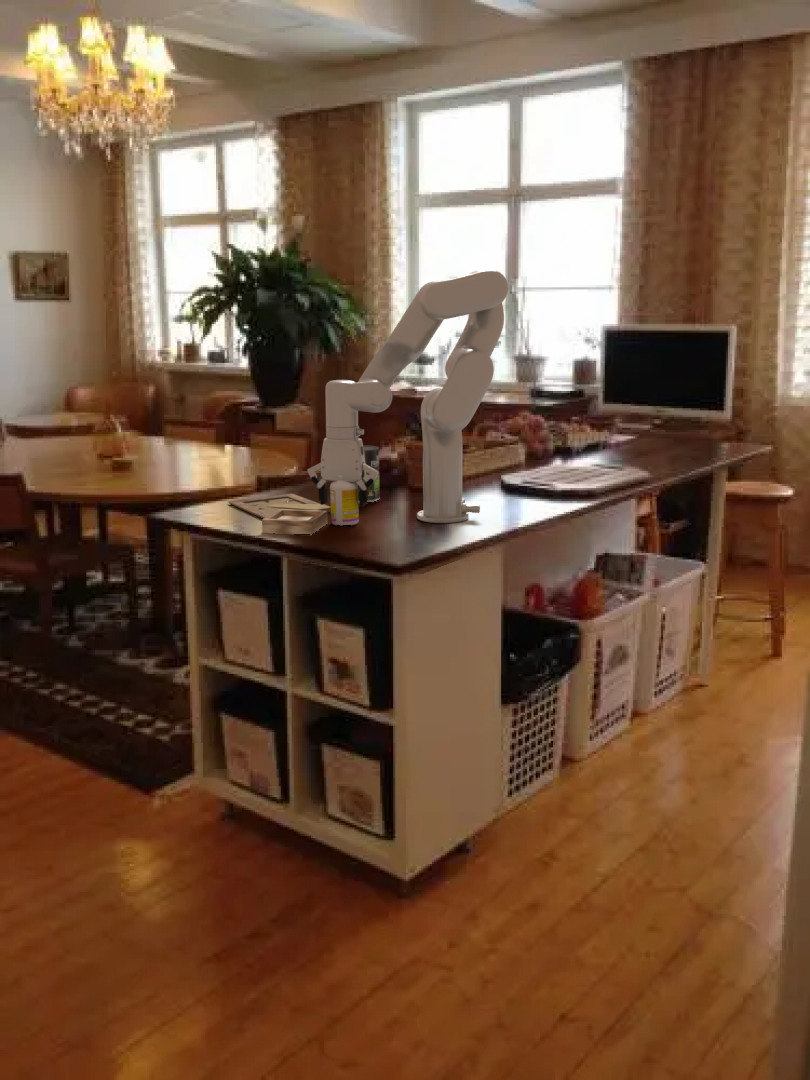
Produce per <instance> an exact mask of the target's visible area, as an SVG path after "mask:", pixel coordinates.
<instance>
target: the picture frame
mask: <svg viewBox="0 0 810 1080" xmlns="http://www.w3.org/2000/svg"><path fill="white" fill-rule="evenodd" d="M227 503H228V505H229V504H230V505H231V506H234V507H236V508H237V509H240V510H242V511H244V512H247V513H249V514H251V515H254V516H255V515H256V517H258V518H260V517H261V518H260V519H262V518H263V519H264V518H265V517H267V516H269V515H271V514H272V513H274V512H276V511H277V510H279V509H298V510H323V511H331V505H330V506H329V505H327V504H324V505H321V503H319V502H316V501H314V500H311V499H308V498H305V497H302V496H300V495H297V494H295V493H286V494H279V495H278V494H277V495H269V496H262V497H261V496H260V497H255V498H254V497H253V498H246V499H236V500H230V501H229V500H228V502H227Z"/></svg>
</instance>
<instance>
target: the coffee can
mask: <svg viewBox="0 0 810 1080" xmlns="http://www.w3.org/2000/svg"><path fill="white" fill-rule="evenodd" d="M363 448H364V456H365V464H366V465H368V466H370V467H372V468H373V469H375V470H377V471H378V472H379V473H378V476H377V477H376V479H375V482H374V483H373V484H372V485H371V486H370V487H369V488H368V501H367V502H372V503H375V502H374V501H376V502H378V501H377V500H379V499H380V500H381V497H380V458H379V457H380V452H379V451H380V447H379V446H376V445H366V444H363ZM370 476H371V475H370V474H369V473H368V472H366V475H365V477H364V479H365V480H366V481H368V480H369V479H370ZM357 485H358V484H357ZM360 490H361V488H360V486H359V485H358V504H359V491H360ZM380 500H379V501H380Z"/></svg>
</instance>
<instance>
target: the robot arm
mask: <svg viewBox="0 0 810 1080" xmlns="http://www.w3.org/2000/svg"><path fill="white" fill-rule="evenodd" d="M508 293H509V283H508V280H507V279H506V277H505V276H504V274H503V273H501V271H498V270H497V269H489V268H488V269H478V270H474V271H472V272H469V274H466V275H463V276H459V277H454V278H450V279H445V280H444V279H443V280H439V281H438V280H436V281H429V282H427V283H425V284H424V285H423V286H422V287H420V288H419V290H418V291H417V293H416V295H415V296H414V298H413V299H412V301H411V302H410V304H409V306H407V308H406V310H405V312H404V313H403V315H402V317H401V318H400V320H399V321H398V322H397V324H396V325H395V327H394V328H393V331H392V332H391V334H390V335H389V336H388V338H386V339H385V341H384V343H383V344H382V346H381V347H380V349H379V350H378V351H377V352H376V353H375V354H374V355H373V356H374V357H373V358H372V359H371V361H370V362H369V364H368V366H367V367H366V368H365V369H364V371H363V373H362V375H360V378H359V380H358V381H357V382H356V381H354V380H349V379H336V380H329V381H328V382H327V383H326V385H325V435H326V437H324V439H323V443H322V449H321V457H320V462H319V463H317V464H315V465H313V466H311V467H310V468H307V473H308V475H309V477H310V479H311V481H312V482H313V484H315V485H316V488H317V489H318V500H319V501H320V504H321V505H326V503H328V487H327V483H328V482H333V481H340V480H342V481H346V482H356V483H357V484H358V485H359V486H360V488H361V490H360V491H359V503H358V507H360V508H362V507H365V506H366V505H367V504H368V503H367V501H368V488H369V487H370V486H371V485H372V484H373V483H374V482H375V479H376V477H377V476H378V473H379V474H380V471H379V472H378V471H377V470H375V469H373V468H372V467H370V466H368V465H366V464H365V456H364V448H363V445H364V443H363V439H362V438H360V436H363V435H364V434H365V429H364V428H363V429H362V428H360V426H359V412H366V413H367V412H368V413H381V412H384V411H386V410H387V409H388V408H390V406H391V404H392V401H393V393H392V390H391V387H392V386H393V384H394V382H395V381H396V379H397V378H398V376H399V375H400V374H401V373H402V372H403V370H404V369H405V368H407V366H409V365H410V364H411V363H413V362H414V361H416V360H417V359H418V358H420V356H421V355H423V353H424V351H425V350H426V348H427V346H428V345H429V343H430V341H431V340H432V338H433V337H434V335H435V334H436V333H437V331H438V329H439V328H440V326H441V325H442V323H443V322H444V320H449V319H454V318H459V317H462V316H463V317H464V316H466V315H468V318H467V322H466V324H465V326H464V327H463V328H464V329H463V331H462V333H461V334H460V336H459V338H458V339H457V342H456V343H455V346H454V347H453V349H452V351H451V353H450V355H449V356H448V357H447V360H446V362H445V364H444V373H445V376H446V378H447V379H446V380H445V382H444V384H443V386H442V387H437V388H433V389H432V390H430V391H428V393H427V394H425V396H424V398H423V399H422V402H421V405H420V422H421V431H422V450H423V451H422V489H423V490H422V492H423V494H422V495H423V496H422V499H423V501H422V503H423V504H422V505H423V510H420V511H418V512H416V517H417V519H418V520H419V521H421V522H426V523H433V524H452V523H459V522H464V521H466V520H468V519H469V513H471V514H472V513H473V514H480V512H481V505H480V504H477V503H467V502H466V498H464V497H463V455H464V454H463V434H462V433H463V432H462V430H464V428H466V427H467V425H468V424H469V423H470V422H471V420H472V418H473V417H474V415H475V414H476V411H477V410H478V408H479V406H480V404H481V403H482V400H483V399H484V397H485V395H486V393H487V392H488V389H489V387H490V385H491V383H492V380H493V378H494V370H495V368H494V367H495V366H494V362H493V360H492V358H491V356H492V354H493V352H494V351H495V348H496V346H497V343H498V341H499V339H500V337H501V335H502V332H503V329H504V325H505V324H504V323H505V312H504V310H505V309H504V305H503V302H504V301H505V299H506V298H507V296H508ZM318 470H320V476H321V478H320V477H319V476H318V475H317V473H316V472H317V471H318ZM366 472H368V473H369V474H370V475H371V476H370V479H369V480H368V481H366V480H365V479H364V477H365V475H366ZM339 475H342V476H343V477H338V476H339ZM339 478H343V479H339Z"/></svg>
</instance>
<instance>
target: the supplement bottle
mask: <svg viewBox="0 0 810 1080" xmlns="http://www.w3.org/2000/svg"><path fill="white" fill-rule="evenodd" d="M338 477H343V476H342V475H339V476H338ZM339 479H343V478H339ZM329 492H330V493H329V495H330V497H329V498H330V501H329V502H330V507H331V510H330V511H331V512H330V520H331V521H330V522H331V524H332V525H334V526H337V525H340V526H339V527H344V526H343V525H351V526H355V525H357V524H358V523H359V520H360V519H359V518H360V517H359V516H360V515H359V503H358V485H357V483H356V482H346V481H342V480H340V481H331V482H330V484H329Z"/></svg>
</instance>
